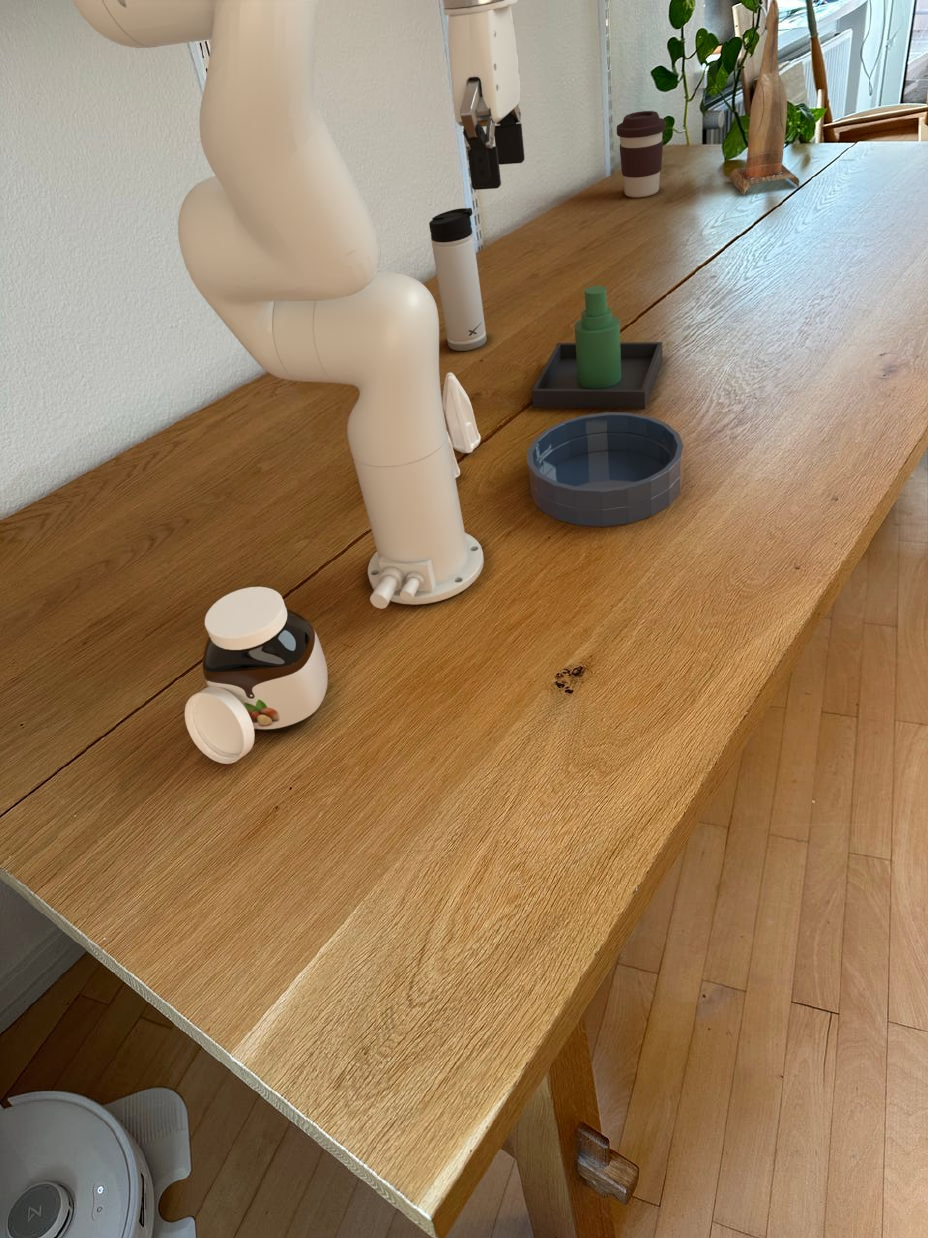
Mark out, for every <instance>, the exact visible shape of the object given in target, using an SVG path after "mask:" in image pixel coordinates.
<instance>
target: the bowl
mask: <svg viewBox="0 0 928 1238" xmlns="http://www.w3.org/2000/svg"><path fill="white" fill-rule="evenodd" d="M684 452H685V446H684V443H683V440H682V437H681V434H680V433H679V432H678V431H677V430H676V429H675V428H673V427H672V426H671V425H669V423H667V422H665V421H662V420H660V419H657V418H655V417H653V416H650V415H645V414H640V413H639V414H638V413H632V412H621V411H620V412H618V411H617V412H616V411H606V412H598V413H591V414H590V413H589V414H584V415H580V416H577V417H574V418H569V419H566V420H563V421H561V422H559V423H556V424H554V425H553V426H551V427H549V428H546V429H544V431H542V432H541V433H540V434H539V435H538V436H537V437H535V438H534V440H532V442H531V444H530V446H529V447H528V449H527V452H526V458H527V469H528V470H527V471H528V479H529V486H530V495H531V496H530V497H531V500H532V501H533V503H534V504H535V505H536V506H537V508H538V509H539V510H540V511H541V512H542V513H544V514H546V515H548V516H549V517H551V518H552V519H554V520H556V521H560V522H563V523H567V524H571V525H575V526H582V527H596V528H597V527H598V528H604V527H605V528H607V527H613V526H614V527H615V526H622V525H628V524H633V523H635V522H639V521H642V520H645V519H648V518H651V517H653V516H655V515H656V514H658V513H659V512H662V511H664V510H665V509H667V508H668V507H670V506H671V505H672V504H673V502H674V501H675V500H676V499H677V498H678V497H679V495H680V494H681V491H682V487H683V483H684V457H685V455H684V454H685V453H684Z"/></svg>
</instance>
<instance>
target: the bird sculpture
mask: <svg viewBox="0 0 928 1238" xmlns="http://www.w3.org/2000/svg"><path fill="white" fill-rule="evenodd" d="M765 16H766V17H765V24H764V30H765V31H766V37H765V41H764V46H763V50H762V51H763V52H762V58H761V63H760V68H759V73H758V77H757V82H756V86H755V90H754V93H753V97H752V101H751V106H750V114H749V115H750V116H749V128H748V141H747V143H748V144H747V153H746V160H745V161H746V162H745V167H741V168H740V167H738V168H734V169H733V170H732V171H731V173H730V175H729V181H730V182H731V183H732V184H733V186H734V187H735V188H736V190H738V191H740V192H741V194H742V195H743V196H745V194H746V192H747V190H749V189H750V188H751V187H753V186H754V185H756V184H760V183H764V182H771V181H778V180H786V179H788V180H790V182H792V183H793V184H794V185H795V186H796V187H797V188H800V178H798V177H797V175H795V174H794V173H792V172H791V171H790V170H789V169H788V168H787V167H786V166H785V165H784V164H783V158H784V149H785V140H786V139H785V138H786V131H787V129H786V128H787V119H788V118H787V117H788V114H787V113H788V97H787V93H786V90H785V87H784V83H783V80H782V78H781V75H780V69H779V22H780V9H779V5H778V1H777V0H771V2H770V4H769V8H768V12H767V14H766V15H765Z"/></svg>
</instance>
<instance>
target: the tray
mask: <svg viewBox="0 0 928 1238" xmlns="http://www.w3.org/2000/svg"><path fill="white" fill-rule="evenodd" d="M620 348H621V380H620V381H619V382H618V383H617V384H615V385H613V386H610V387H607V388H600V389H591V388H586V387H583V386H581V385H580V384H579V382H578V374H577V358H576V343H575V342H557V344H556V345H555V347H554V349H553V351H552V352H551V355H550V356H549V358H548V360H547V362H546V363H545V365H544V367H543V369H542V371H541V373H540V375H539V376H538V378H537V380H536V382H535V383H534V385H533V387H532V389H531V400H532V407H533V408H553V409H554V408H558V409H559V408H561V409H611V410H612V409H614V410H617V409H619V410H645V409H646V408H647V406H648V404H649V401H650V398H651V396H652V392H653V389H654V386H655V384H656V381H657V377H658V375H659V372H660V369H661V365H662V363H663V341H648V342H647V341H645V342H644V341H643V342H642V341H639V342H638V341H637V342H636V341H635V342H631V341H629V342H627V341H626V342H624V341H623V342H621V341H620Z"/></svg>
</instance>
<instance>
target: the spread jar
mask: <svg viewBox="0 0 928 1238" xmlns="http://www.w3.org/2000/svg"><path fill="white" fill-rule="evenodd" d="M284 601H285V600H284V599H283V597H282V595H281V594H280V593H279V592H278V591H277V590H275V589H272V588H269V587H266V586H265V587H264V586H251V587H244V588H240V589H237V590H235V591H232V592H230V593H228V594H226V595H224V596H222V597H221V598H219V599H218V600H217V601H216V602H215V603H213V604H212V606H211V607H210V608H209V609H208V610H207V612H206V614H205V617H204V627H205V629H206V631H207V633H208V634H207V635H208V638H207V641H206V643H205V647H204V649H203V656H202V673H203V677H204V681H205V683H206V685H207V687H205V688H203V689H201V690H200V691H198V692H196V693H195V694H193V695H191V696H190V697H189V698H188V700H187V701H186V703H185V707H184V722H185V725H186V729H187V732H188V733H189V736H190V738H191V740H192V741H193V743H194V745H196V747H197V748H198V749H199V750H200V751H201V752H202V754H203V755H205V756H206V757H208V758H209V759H211V760H212V761H214V762H216V763H220V764H225V765H229V764H233V763H236V762H237V761H239V760H240V759H242V758H243V757H245V756H246V755H247V754H248V753H250V752H251V750H252V749H253V746H254V743H255V733H257V734H263V735H265V734H266V735H271V734H272V735H275V734H282V733H286V732H289V731H292V730H294V729H296V728H298V727H300V726H302V725H304V724H305V723H307V722H308V721H310V720H311V719H312V718H313V717H314V716H315V714H316V713H317V712H318V711H319V709H320V708H321V706H322V704H323V702H324V699H325V697H326V694H327V689H328V683H329V682H328V681H329V678H328V677H329V675H328V665H327V661H326V657H325V655H324V654H325V653H324V651H323V647H322V644H321V642H320V639H319V636H318V634H317V632H316V630H315V629H314V627H313V625H312V623H311V622H310V621H309V620H307V618H305V617H304V616H303V615H301V614H299V613H298V612H296V611H294V610H292V609H289V608H287V607H286V605H285V602H284Z"/></svg>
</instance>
